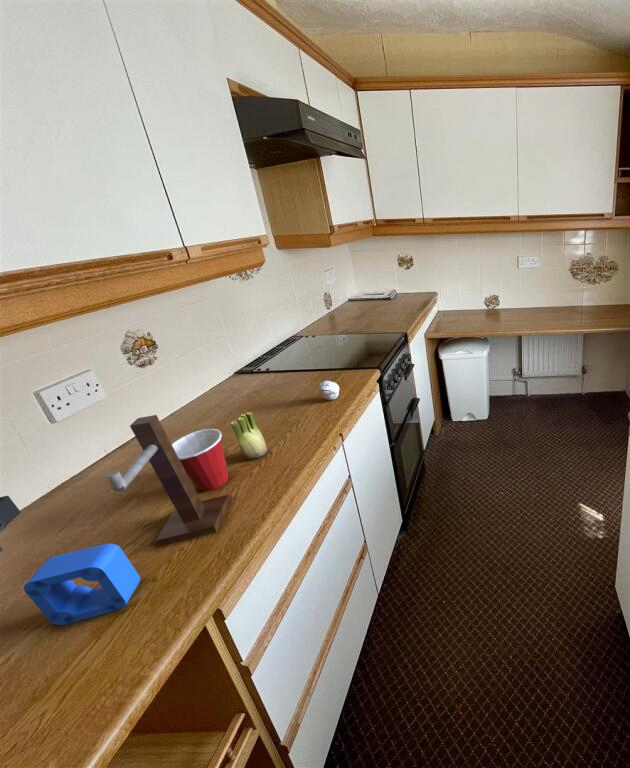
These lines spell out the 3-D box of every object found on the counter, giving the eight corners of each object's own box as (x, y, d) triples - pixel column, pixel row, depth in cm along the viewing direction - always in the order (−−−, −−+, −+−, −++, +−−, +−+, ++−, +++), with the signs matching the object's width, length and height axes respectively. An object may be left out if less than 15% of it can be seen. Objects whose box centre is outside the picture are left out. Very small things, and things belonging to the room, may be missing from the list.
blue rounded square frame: (129, 607, 68) (99, 564, 63) (55, 627, 65) (18, 585, 61) (143, 582, 72) (116, 541, 68) (74, 600, 69) (41, 559, 65)
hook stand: (201, 565, 74) (139, 454, 64) (137, 582, 72) (60, 470, 61) (230, 499, 91) (185, 402, 80) (179, 511, 88) (124, 413, 77)
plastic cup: (174, 497, 93) (150, 454, 88) (213, 468, 102) (193, 427, 97) (214, 501, 91) (192, 457, 86) (250, 470, 100) (232, 429, 95)
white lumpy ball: (318, 405, 130) (311, 385, 127) (328, 395, 137) (322, 376, 133) (336, 404, 130) (330, 385, 127) (345, 394, 136) (340, 375, 133)
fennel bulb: (248, 464, 103) (230, 424, 98) (242, 457, 106) (225, 417, 101) (272, 453, 106) (256, 414, 101) (266, 447, 110) (250, 408, 104)
